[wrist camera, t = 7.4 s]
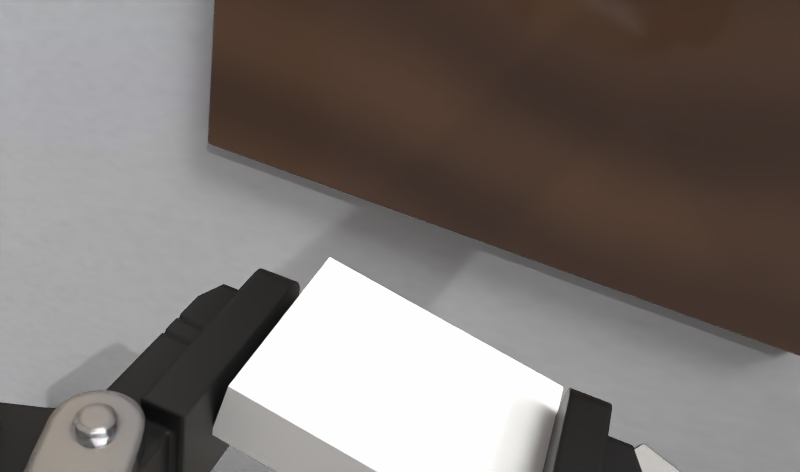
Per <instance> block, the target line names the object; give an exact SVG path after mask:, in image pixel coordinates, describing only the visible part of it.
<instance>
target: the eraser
mask: <svg viewBox="0 0 800 472" xmlns="http://www.w3.org/2000/svg"><path fill="white" fill-rule="evenodd" d="M562 392H563V386H561V385H559V384H557V383H555V382H554V381H552V380H550V379H548V378H546V377H545V376H543V375H541V374H539V373H537V372H536V371H534V370H532V369H530V368H528V367H527V366H525V365H523V364H521V363H520V362H518V361H516V360H514V359H512V358H511V357H509V356H507V355H505V354H503V353H502V352H500V351H498V350H496V349H494V348H493V347H491V346H489V345H487V344H485V343H484V342H482V341H480V340H478V339H476V338H475V337H473V336H471V335H469V334H467V333H466V332H464V331H462V330H460V329H458V328H457V327H455V326H453V325H451V324H449V323H448V322H446V321H444V320H442V319H440V318H439V317H437V316H435V315H433V314H431V313H430V312H428V311H426V310H424V309H422V308H421V307H419V306H417V305H415V304H413V303H412V302H410V301H408V300H406V299H404V298H403V297H401V296H399V295H397V294H395V293H394V292H392V291H390V290H388V289H386V288H385V287H383V286H381V285H379V284H377V283H376V282H374V281H372V280H370V279H369V278H367V277H365V276H363V275H361V274H360V273H358V272H356V271H354V270H352V269H351V268H349V267H347V266H345V265H343V264H342V263H340V262H338V261H336V260H334V259H333V258H331V257H329V258H328V260H327V261H326V262H325V263H324V265H323V266H322V267H321V269H320V270H319V271H318V272H317V274H316V275H315V276H314V277H313V279H312V280H311V281H310V283H309V284H308V285H307V286H306V288H305V289H304V290H303V291H302V293H301V294H300V295H299V297H298V298H297V299H296V300H295V302H294V303H293V304H292V305H291V307H290V308H289V309H288V311H287V312H286V313H285V314H284V316H283V317H282V318H281V320H280V321H279V322H278V323H277V325H276V326H275V327H274V328H273V330H272V331H271V332H270V334H269V335H268V336H267V337H266V339H265V340H264V341H263V342H262V344H261V345H260V346H259V348H258V349H257V350H256V351H255V353H254V354H253V355H252V357H251V358H250V359H249V360H248V362H247V363H246V364H245V365H244V367H243V368H242V369H241V371H240V372H239V373H238V374H237V376H236V377H235V378H234V379H233V381H232V382H231V383H230V385H229V386H228V388H227V391H226V394H225V396H224V399H223V402H222V405H221V407H220V410H219V413H218V415H217V418H216V421H215V424H214V426H213V432H212V435H214V436H215V437H217V438H219V439H221V440H222V441H224V442H226V443H227V444H229V445H231V446H233V447H234V448H236V449H238V450H239V451H241V452H243V453H245V454H246V455H248V456H250V457H252V458H253V459H255V460H257V461H258V462H260V463H262V464H264V465H265V466H267V467H269V468H271V469H272V470H274V471H276V472H543V468H544V463H545V459H546V455H547V451H548V446H549V442H550V438H551V433H552V429H553V425H554V421H555V416H556V414H557V412H558V409H559V405H560V400H561V396H562Z"/></svg>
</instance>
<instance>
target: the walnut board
mask: <svg viewBox="0 0 800 472" xmlns="http://www.w3.org/2000/svg"><path fill="white" fill-rule="evenodd" d="M208 142H209V144H212V145H214V146H217V147H220V148H223V149H225V150H228V151H231V152H234V153H237V154H239V155H242V156H245V157H248V158H251V159H253V160H256V161H259V162H262V163H264V164H267V165H270V166H273V167H276V168H278V169H281V170H284V171H287V172H289V173H292V174H295V175H298V176H301V177H303V178H306V179H309V180H312V181H315V182H317V183H320V184H323V185H326V186H328V187H331V188H334V189H337V190H340V191H342V192H345V193H348V194H351V195H354V196H356V197H359V198H362V199H365V200H367V201H370V202H373V203H376V204H379V205H381V206H384V207H387V208H390V209H392V210H395V211H398V212H401V213H404V214H406V215H409V216H412V217H415V218H418V219H420V220H423V221H426V222H429V223H431V224H434V225H437V226H440V227H443V228H445V229H448V230H451V231H454V232H457V233H459V234H462V235H465V236H468V237H470V238H473V239H476V240H479V241H482V242H484V243H487V244H490V245H493V246H495V247H498V248H501V249H504V250H507V251H509V252H512V253H515V254H518V255H521V256H523V257H526V258H529V259H532V260H534V261H537V262H540V263H543V264H546V265H548V266H551V267H554V268H557V269H560V270H562V271H565V272H568V273H571V274H573V275H576V276H579V277H582V278H585V279H587V280H590V281H593V282H596V283H599V284H601V285H604V286H607V287H610V288H612V289H615V290H618V291H621V292H624V293H626V294H629V295H632V296H635V297H637V298H640V299H643V300H646V301H649V302H651V303H654V304H657V305H660V306H663V307H665V308H668V309H671V310H674V311H676V312H679V313H682V314H685V315H688V316H690V317H693V318H696V319H699V320H702V321H704V322H707V323H710V324H713V325H715V326H718V327H721V328H724V329H727V330H729V331H732V332H735V333H738V334H740V335H743V336H746V337H749V338H752V339H754V340H757V341H760V342H763V343H766V344H768V345H771V346H774V347H777V348H779V349H782V350H785V351H788V352H791V353H793V354H796V355H799V356H800V0H215V14H214V34H213V55H212V75H211V96H210V116H209V136H208Z"/></svg>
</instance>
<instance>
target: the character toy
mask: <svg viewBox="0 0 800 472" xmlns="http://www.w3.org/2000/svg"><path fill="white" fill-rule="evenodd" d="M635 453H636V456H637V459H638V461H639V464H640V467H641V470H642V472H679V471H678V470H677V469H676V468H674V467H673V466H672V465H670V464H669V463H668V462H666V461H665V460H664V459H663V458H661V457H660V456H659V455H657V454H656V453H655V452H653V451H652V450H651V449H650V448H648V447H647V446H646V445H644V444H642V445H641V446H639V447H638V448H636V449H635Z"/></svg>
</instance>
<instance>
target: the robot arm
mask: <svg viewBox="0 0 800 472" xmlns="http://www.w3.org/2000/svg"><path fill="white" fill-rule="evenodd" d="M299 291H300V286H299V283H298V282H296V281H293V280H290V279H288V278H285V277H283V276H280V275H277V274H275V273H272V272H270V271H267V270H264V269H258V270H257V271H256V272H255V273H254V274H253V275H252V276H251V277H250V278H249V279H248V280H247V281H246V283H245V284H244V285H243V286H242V287H241V288H240V289H239V290H237V289H235V288H232V287H230V286H227V285H224V284H223V285H221V286H219V287H217V288H215V289H212V290H210V291H208V292H206V293H204V294H202V295H200V296H198V297H197V298H196V299H195V300H194V301H193V302H192V303H191V304H190V305H189V306H188V307H187V308H186V309H185V310H184V311H183V312H182V313H181V314H180V317H179V318H176V319H175V320H174V321H173V322H172V323H171V324H170V325H169V326H168V328H167V329H166V331H165V333H162V334H161V335H160V336H159V337H158V338H157V339H156V340H155V341H154V342H153V343H152V344H151V345H150V346H149V347H148V348H147V349H146V350H145V351H144V352H143V353H142V354H141V355H140V356H139V357H138V358H137V359H136V360H135V361H134V362H133V363H132V364H131V365H130V366H129V367H128V368H127V369H126V371H125V372H124V373H123V374H122V375H121V376H120V377H119V378H118V379H117V380H116V381H115V382H114V383H113V384H112V385H111V386H110V387H109V388H108V389H106V390H99V391H90V392H85V393H82V394H79V395H76V396H74V397H72V398H70V399H68V400H66V401H65V402H63V403H62V404H61V405H59V406H58V407H57V408H44V407H35V406H26V405H18V404H9V403H0V472H210V471H211V470H212V469H213V467H214V466H215V464H216V463H217V462H218V460H219V459H220V457H221V456H222V455H223V453H224V452H225V450H226V449H227V448H228V446H229V444H227V443H226V442H224V441H222V440H221V439H219V438H217V437H215V436H214V435H212V432H213V426H214V424H215V421H216V418H217V415H218V413H219V410H220V407H221V405H222V402H223V399H224V396H225V394H226V391H227V388H228V386H229V385H230V383H231V382H232V381H233V379H234V378H235V377H236V376H237V374H238V373H239V372H240V371H241V369H242V368H243V367H244V365H245V364H246V363H247V362H248V360H249V359H250V358H251V357H252V355H253V354H254V353H255V351H256V350H257V349H258V348H259V346H260V345H261V344H262V342H263V341H264V340H265V339H266V337H267V336H268V335H269V334H270V332H271V331H272V330H273V328H274V327H275V326H276V325H277V323H278V322H279V321H280V320H281V318H282V317H283V316H284V314H285V313H286V312H287V311H288V309H289V308H290V307H291V305H292V304H293V303H294V302H295V300H296V299H297V298H298V297H299ZM611 411H612V405H611V403H608V402H605V401H603V400H600V399H598V398H595V397H592V396H590V395H587V394H585V393H582V392H580V391H577V390H574V389H572V388H569V389H568V391H567V392H566V394H565V396H564V399H563V401H562V403H561V405H560V407H559V410H558V412H557V414H556V416H555V421H554V425H553V429H552V433H551V438H550V442H549V446H548V451H547V455H546V459H545V463H544V468H543V472H642V470H641V467H640V464H639V461H638V459H637V456H636V453H635V450H634V447H633V446H632V445H630V444H627V443H625V442H622V441H620V440H617V439H615V438H612V437H610V436H608V432H609V425H610V418H611Z"/></svg>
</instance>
